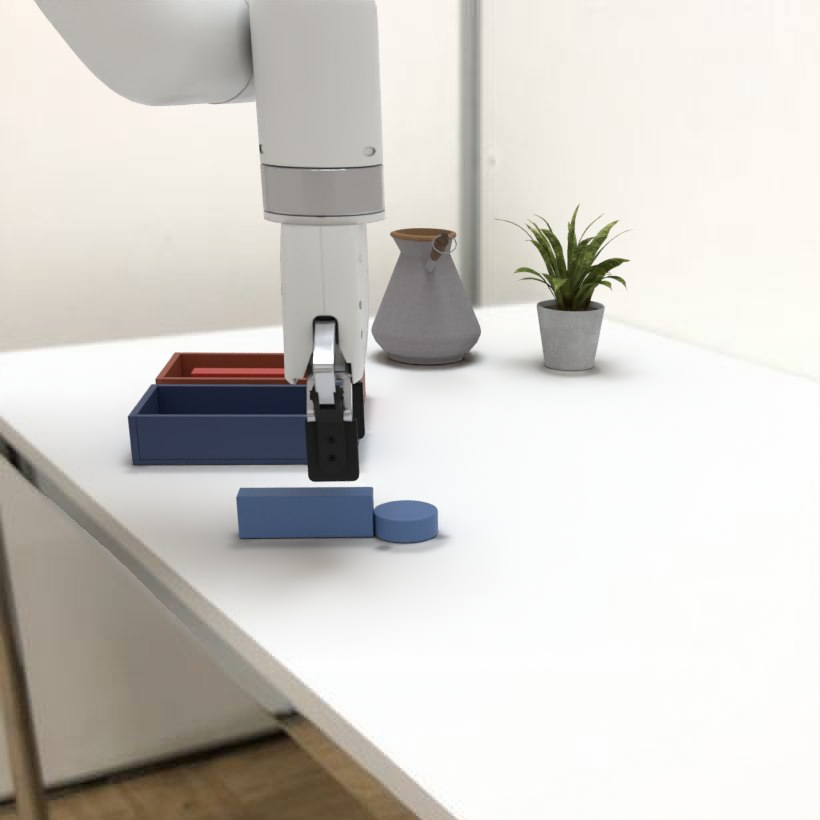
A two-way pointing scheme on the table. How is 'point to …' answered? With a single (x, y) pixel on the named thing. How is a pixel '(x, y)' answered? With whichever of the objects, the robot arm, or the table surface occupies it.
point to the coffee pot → (425, 302)
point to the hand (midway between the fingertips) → (338, 458)
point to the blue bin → (219, 424)
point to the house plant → (571, 296)
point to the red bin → (185, 363)
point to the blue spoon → (331, 514)
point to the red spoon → (239, 372)
